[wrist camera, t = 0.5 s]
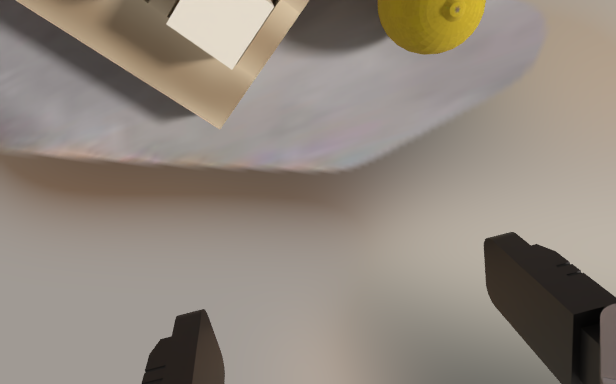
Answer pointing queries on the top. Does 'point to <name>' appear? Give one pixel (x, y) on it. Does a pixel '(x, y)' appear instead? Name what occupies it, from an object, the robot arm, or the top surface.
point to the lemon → (430, 23)
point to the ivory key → (220, 25)
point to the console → (169, 48)
